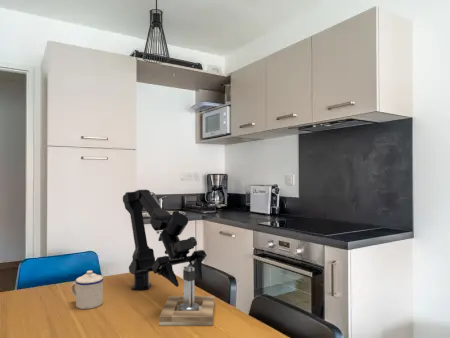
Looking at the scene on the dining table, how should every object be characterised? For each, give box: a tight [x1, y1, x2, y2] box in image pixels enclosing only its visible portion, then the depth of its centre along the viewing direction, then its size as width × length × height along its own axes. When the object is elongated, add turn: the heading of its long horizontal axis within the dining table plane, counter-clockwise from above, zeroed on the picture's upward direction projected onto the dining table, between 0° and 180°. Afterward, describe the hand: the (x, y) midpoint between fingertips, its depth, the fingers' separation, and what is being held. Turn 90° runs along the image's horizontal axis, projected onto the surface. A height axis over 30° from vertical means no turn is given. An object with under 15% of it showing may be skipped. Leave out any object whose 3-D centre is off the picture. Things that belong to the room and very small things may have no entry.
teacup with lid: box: [70, 270, 104, 310], centre depth 120 cm, size 12×9×12 cm
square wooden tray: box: [158, 295, 216, 327], centre depth 112 cm, size 18×16×2 cm
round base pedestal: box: [179, 265, 199, 311], centre depth 112 cm, size 6×6×14 cm
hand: (189, 283), depth 112 cm, fingers open, 9 cm apart
